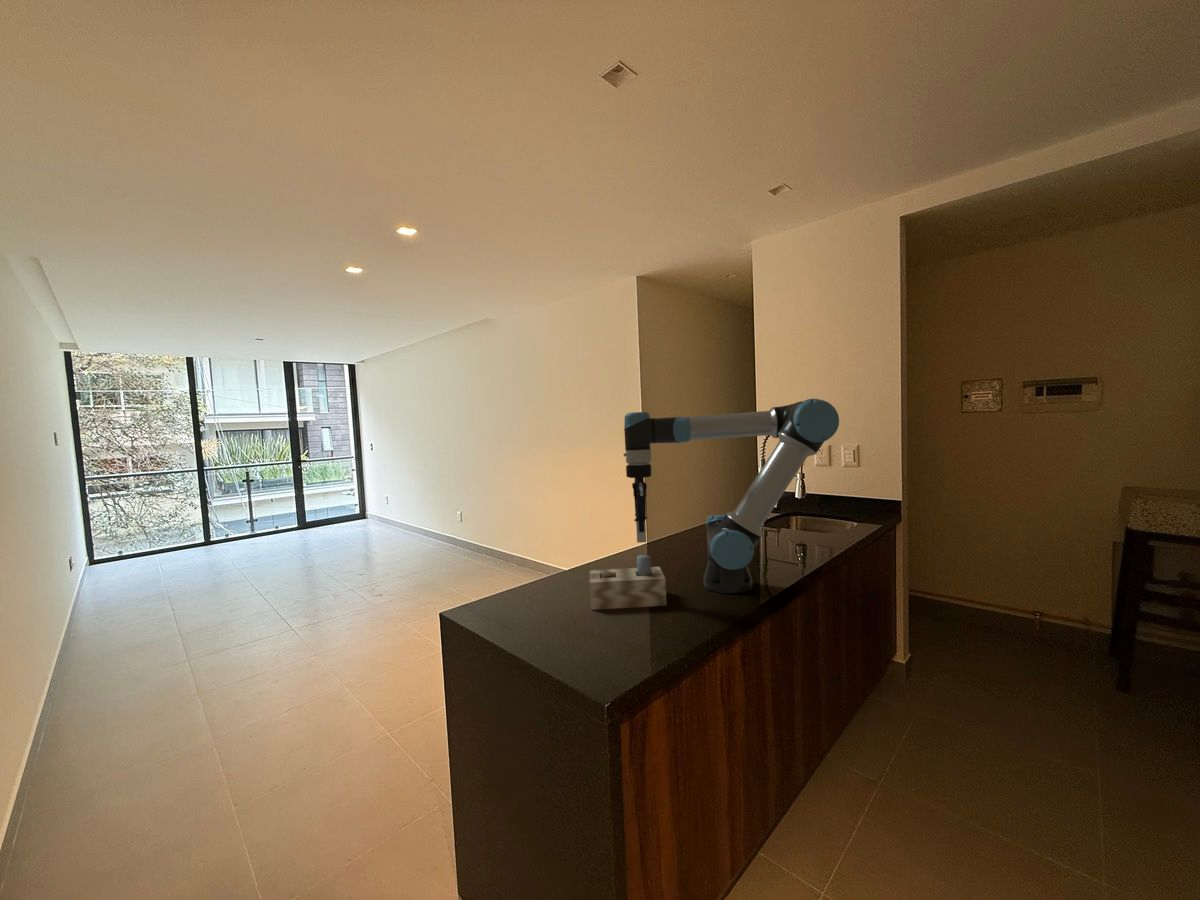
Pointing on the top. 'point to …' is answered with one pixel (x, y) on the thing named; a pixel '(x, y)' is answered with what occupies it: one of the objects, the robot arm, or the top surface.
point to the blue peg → (643, 565)
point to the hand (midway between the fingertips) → (641, 541)
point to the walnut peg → (607, 575)
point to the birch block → (627, 589)
